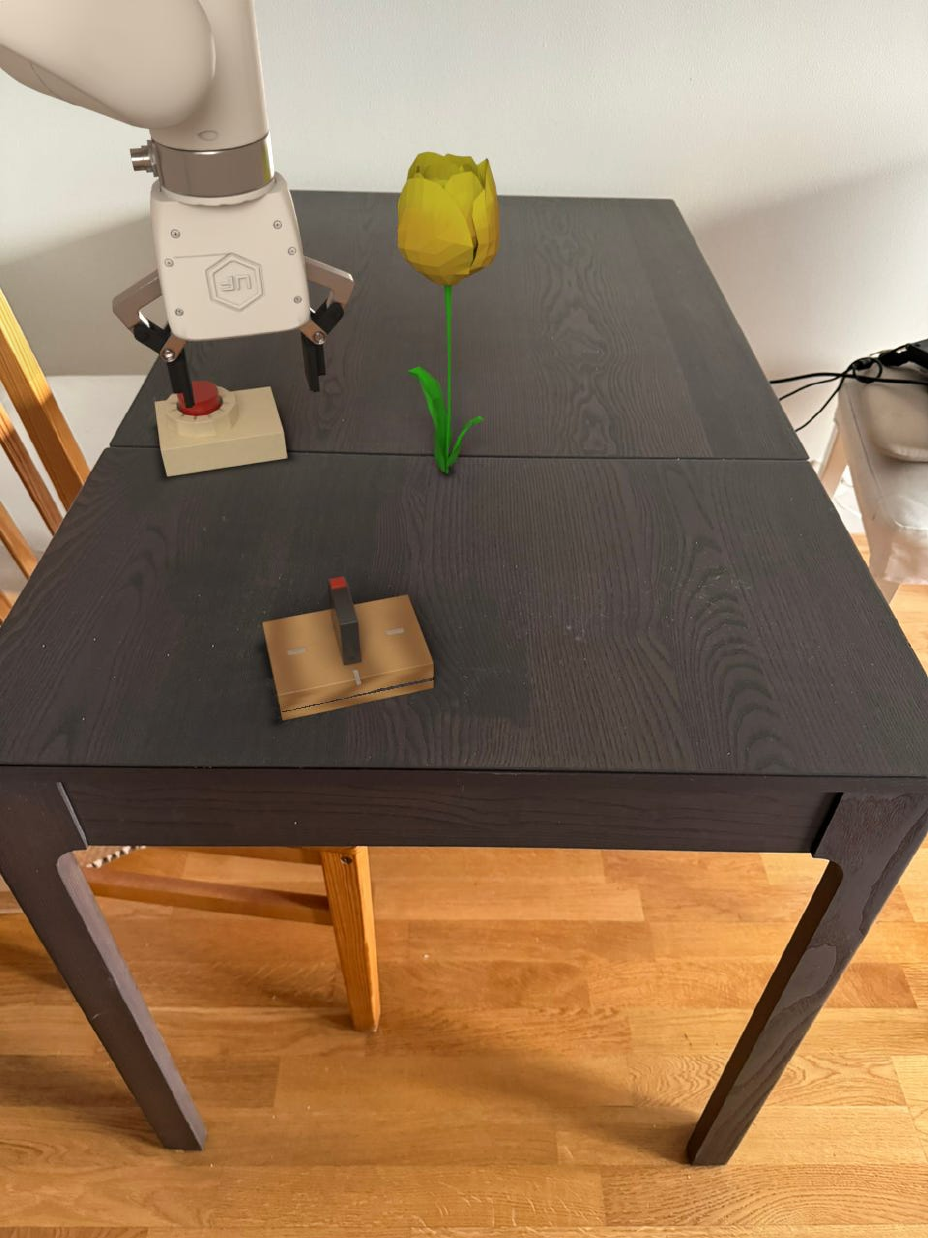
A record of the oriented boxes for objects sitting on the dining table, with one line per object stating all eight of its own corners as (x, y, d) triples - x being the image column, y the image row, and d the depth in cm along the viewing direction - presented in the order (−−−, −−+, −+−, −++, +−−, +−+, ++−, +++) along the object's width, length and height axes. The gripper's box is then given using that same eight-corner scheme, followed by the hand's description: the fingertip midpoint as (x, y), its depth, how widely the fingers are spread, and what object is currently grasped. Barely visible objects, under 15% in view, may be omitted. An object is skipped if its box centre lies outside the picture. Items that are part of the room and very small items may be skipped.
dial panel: (283, 727, 70) (278, 700, 68) (265, 642, 77) (260, 615, 74) (436, 694, 73) (436, 667, 71) (406, 615, 79) (405, 587, 77)
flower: (491, 452, 97) (507, 144, 75) (484, 499, 91) (499, 180, 70) (409, 445, 97) (402, 137, 76) (397, 492, 91) (385, 173, 70)
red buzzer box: (167, 476, 92) (156, 434, 89) (160, 427, 98) (150, 386, 95) (287, 458, 95) (281, 416, 91) (273, 412, 101) (268, 370, 98)
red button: (181, 420, 91) (178, 404, 90) (178, 399, 94) (175, 383, 93) (223, 414, 92) (220, 398, 91) (218, 393, 95) (215, 378, 94)
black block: (361, 662, 71) (358, 618, 68) (343, 666, 71) (339, 622, 67) (348, 618, 74) (344, 574, 71) (331, 621, 74) (326, 577, 71)
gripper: (76, 194, 57) (139, 432, 69) (355, 172, 60) (369, 401, 72) (78, 151, 62) (136, 380, 74) (335, 133, 65) (351, 354, 77)
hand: (251, 390), depth 73 cm, fingers open, 9 cm apart
